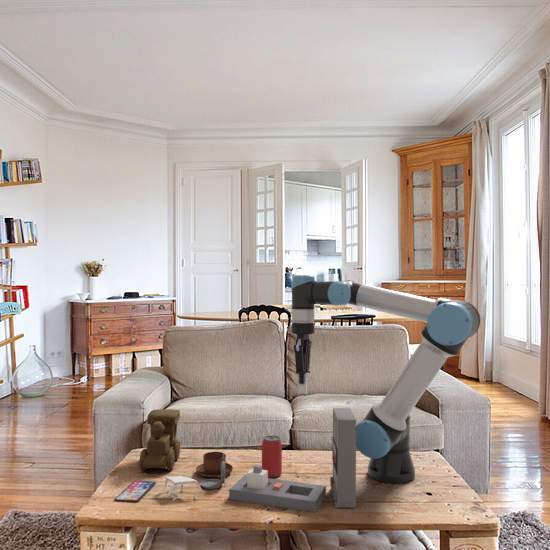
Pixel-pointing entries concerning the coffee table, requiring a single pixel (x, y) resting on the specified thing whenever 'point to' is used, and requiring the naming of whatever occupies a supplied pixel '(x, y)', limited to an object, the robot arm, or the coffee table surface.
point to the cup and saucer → (213, 465)
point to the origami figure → (180, 480)
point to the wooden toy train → (161, 440)
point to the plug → (257, 478)
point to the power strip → (280, 494)
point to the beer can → (272, 455)
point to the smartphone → (135, 491)
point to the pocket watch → (215, 482)
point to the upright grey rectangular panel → (344, 458)
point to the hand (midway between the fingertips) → (302, 393)
